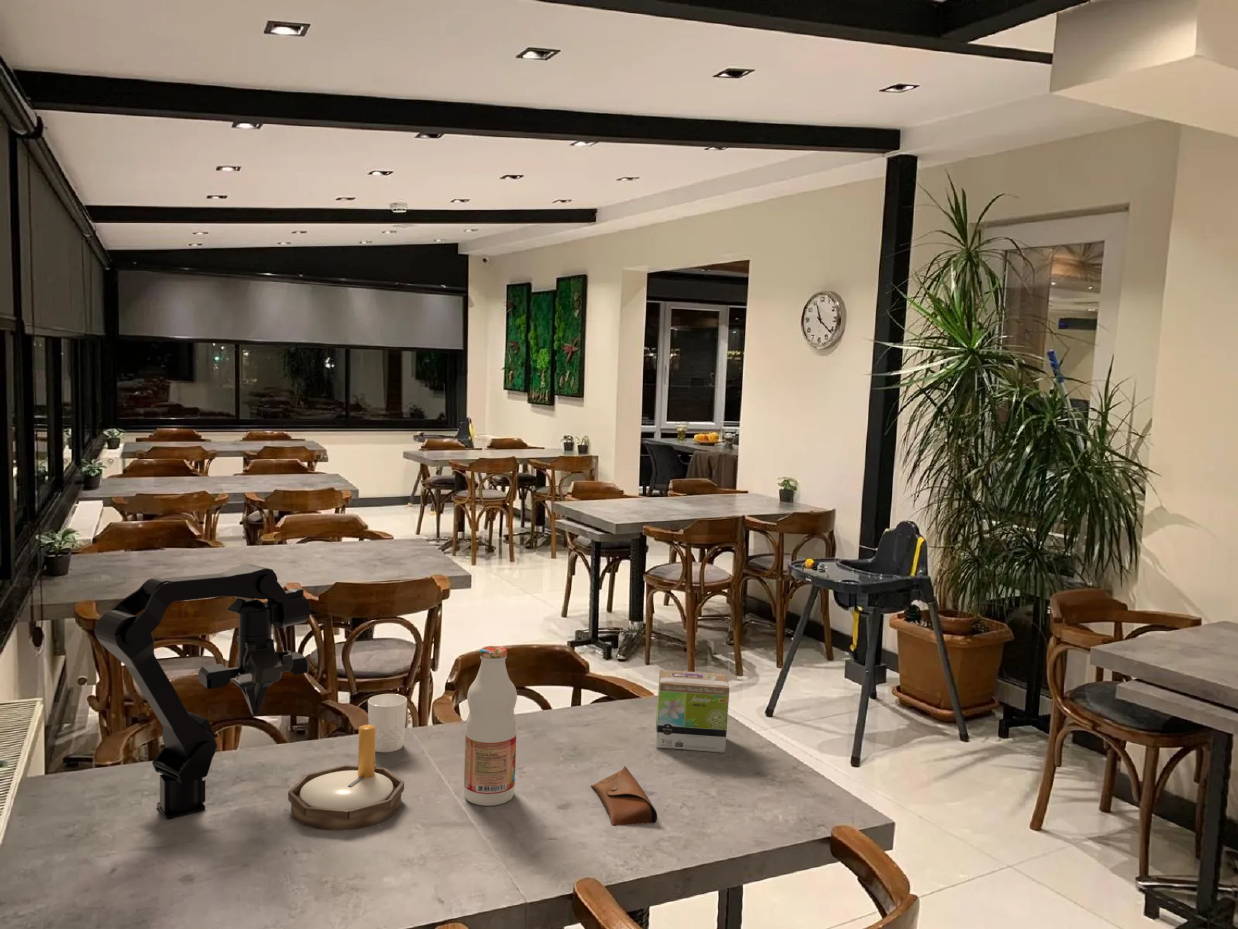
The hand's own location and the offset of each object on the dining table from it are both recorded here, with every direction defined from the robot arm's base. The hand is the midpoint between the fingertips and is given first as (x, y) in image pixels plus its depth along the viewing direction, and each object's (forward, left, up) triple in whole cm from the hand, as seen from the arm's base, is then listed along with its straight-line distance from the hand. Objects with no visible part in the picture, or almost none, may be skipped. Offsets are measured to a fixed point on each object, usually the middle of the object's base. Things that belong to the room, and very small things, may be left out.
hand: (254, 714), depth 179 cm
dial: (+10, -19, -11) cm, 24 cm away
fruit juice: (+33, -30, -13) cm, 46 cm away
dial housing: (+10, -19, -13) cm, 25 cm away
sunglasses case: (+52, -46, -14) cm, 71 cm away
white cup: (+28, +2, -13) cm, 31 cm away
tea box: (+83, -32, -13) cm, 90 cm away
